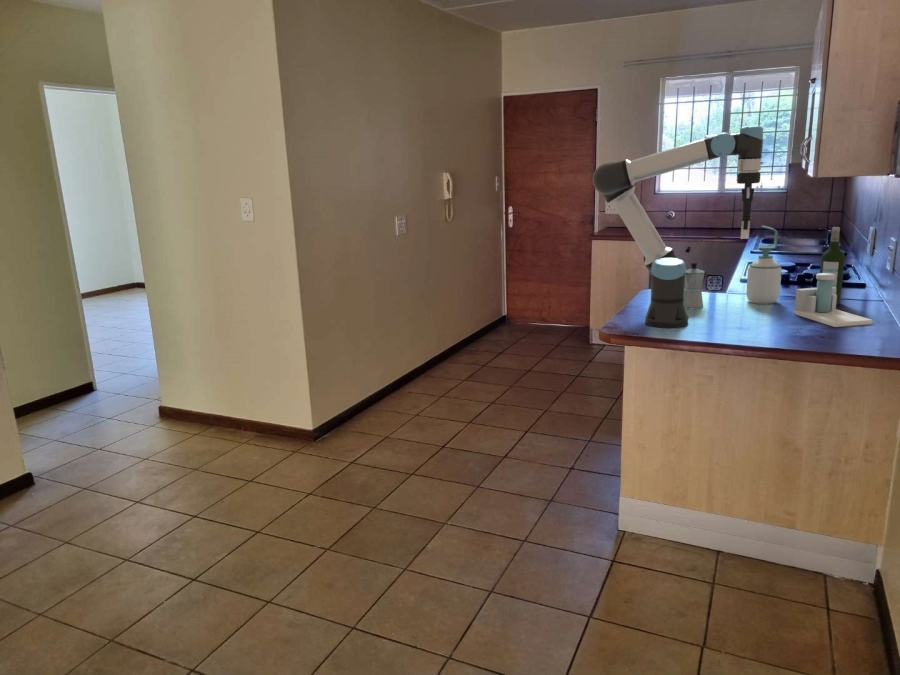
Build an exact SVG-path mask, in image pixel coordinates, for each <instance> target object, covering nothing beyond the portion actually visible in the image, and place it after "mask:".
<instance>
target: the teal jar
mask: <svg viewBox="0 0 900 675" xmlns="http://www.w3.org/2000/svg"><path fill="white" fill-rule="evenodd" d="M815 279H816V280H817V282H816V288H817V290H816V307H815V311H816V312H830V308H831V298H832V288H833V280H835V274H831V273H820V272H819V273H816V275H815Z"/></svg>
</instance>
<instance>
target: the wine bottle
mask: <svg viewBox="0 0 900 675" xmlns="http://www.w3.org/2000/svg"><path fill="white" fill-rule="evenodd" d="M840 227H841V226H840ZM840 227H839V226H837V227H836V226H833V227H832V228H831V235H830V241H829V242H830V243H829V247H828V249H826V250H825V251H824V252H823V253H822V255H821V258H820V259H821V260H820V271H819V273H831V274H835V280H833V287H835V288H837V289H836V295H837V301H836V306H837V305H840V303H841V296H842V287H843V278H844V267H845V259H846V256H845V253H844V252H843V250H841V249H840V246H839V245H840V231H841V228H840Z"/></svg>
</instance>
